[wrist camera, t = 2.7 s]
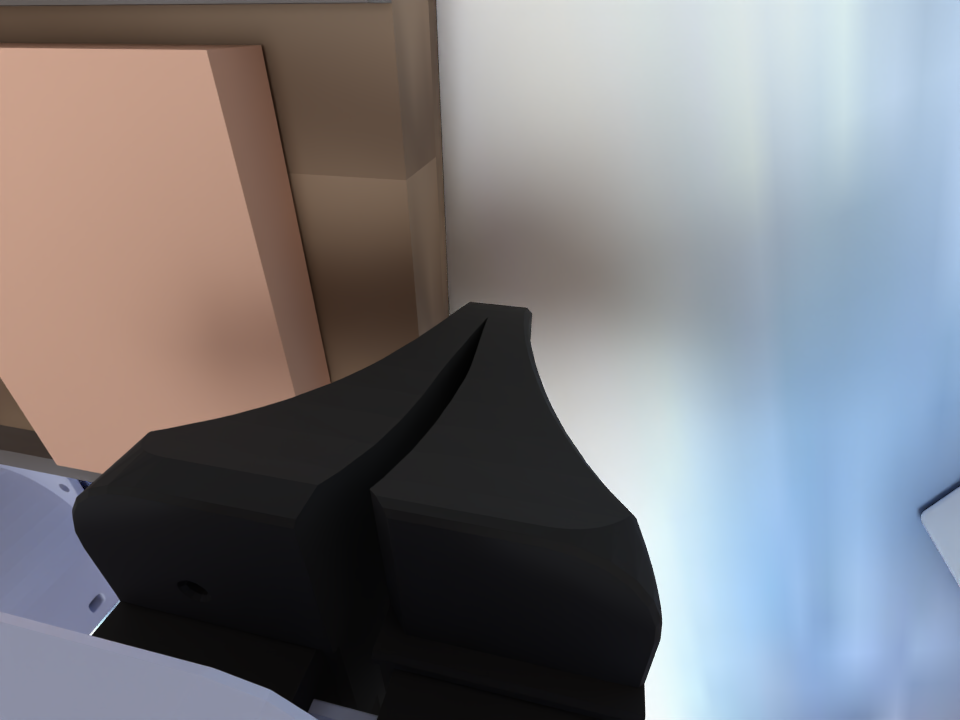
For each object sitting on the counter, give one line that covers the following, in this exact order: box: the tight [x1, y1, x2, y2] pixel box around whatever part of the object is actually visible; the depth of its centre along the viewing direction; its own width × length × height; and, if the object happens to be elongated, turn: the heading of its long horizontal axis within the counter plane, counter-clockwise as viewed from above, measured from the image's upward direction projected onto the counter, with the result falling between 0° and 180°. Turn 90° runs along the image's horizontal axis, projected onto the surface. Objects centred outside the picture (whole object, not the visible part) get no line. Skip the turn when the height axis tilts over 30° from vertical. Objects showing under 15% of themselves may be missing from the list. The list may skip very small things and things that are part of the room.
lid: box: [0, 43, 331, 474], centre depth 13 cm, size 11×9×2 cm
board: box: [0, 0, 449, 482], centre depth 14 cm, size 14×20×4 cm
